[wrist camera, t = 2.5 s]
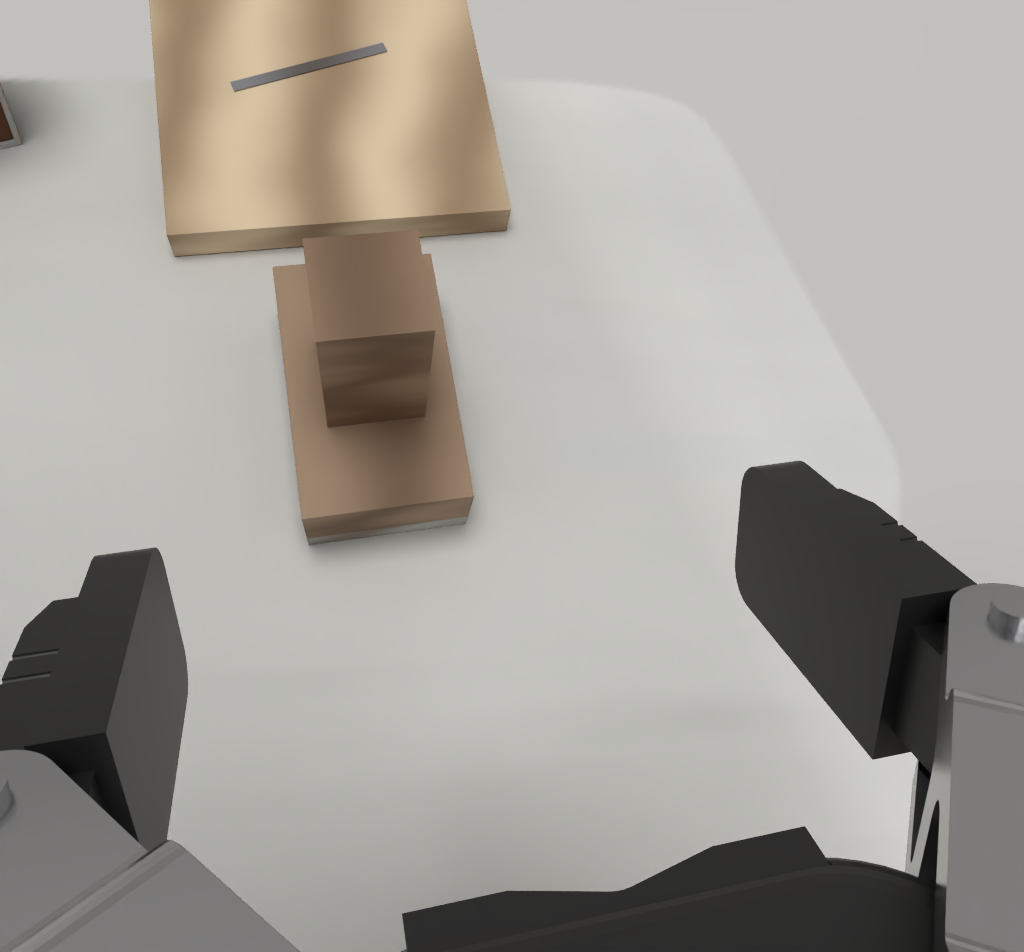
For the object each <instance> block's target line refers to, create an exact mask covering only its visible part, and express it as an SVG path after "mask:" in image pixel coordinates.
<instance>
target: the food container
mask: <svg viewBox="0 0 1024 952" xmlns="http://www.w3.org/2000/svg"><path fill="white" fill-rule="evenodd" d="M21 144H22V141H21V139H20V136H19V133H18V131H17V128H16V125H15V122H14V120H13V117H12V114H11V112H10V109H9V106H8V103H7V101H6V98H5V95H4V93H3V90H2V87H1V84H0V149H4V148H8V147H12V146H16V145H21Z"/></svg>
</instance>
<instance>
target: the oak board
mask: <svg viewBox="0 0 1024 952" xmlns="http://www.w3.org/2000/svg"><path fill="white" fill-rule="evenodd" d="M149 5H150V18H151V31H152V45H153V58H154V71H155V84H156V97H157V111H158V124H159V137H160V150H161V164H162V177H163V190H164V203H165V216H166V230H167V237H168V239H169V242H170V245H171V247H172V250H173V253H174V255H175V256H185V255H198V254H210V253H223V252H236V251H248V250H261V249H274V248H287V247H299V246H303V240H302V239H305V238H318V237H331V236H344V235H357V234H370V233H383V232H396V231H409V230H418V234H419V237H427V236H439V235H452V234H465V233H477V232H490V231H503V230H506V229H507V225H508V220H509V216H510V211H511V208H510V203H509V199H508V194H507V189H506V185H505V180H504V175H503V171H502V166H501V161H500V157H499V152H498V147H497V142H496V138H495V133H494V128H493V124H492V119H491V114H490V110H489V105H488V100H487V95H486V91H485V86H484V81H483V77H482V73H481V67H480V63H479V59H478V53H477V49H476V44H475V39H474V34H473V30H472V25H471V20H470V16H469V11H468V6H467V2H466V0H149Z"/></svg>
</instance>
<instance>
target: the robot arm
mask: <svg viewBox="0 0 1024 952" xmlns="http://www.w3.org/2000/svg"><path fill="white" fill-rule="evenodd" d="M897 522H898V521H896V520H895V519H894V518H893V517H891V516H890V515H889V514H887V513H886V512H885V511H884V510H882V509H881V508H880V507H879V506H877V505H876V504H875V503H873V502H871V501H868V500H866V499H864V498H861V497H859V496H857V495H854V494H852V493H850V492H847V491H845V490H843V489H837V488H835V487H834V486H833V485H832V484H830V483H829V482H828V481H827V480H826V479H824V478H823V477H822V476H821V475H819V474H818V473H817V472H816V471H815V470H813V469H812V468H811V467H810V466H808V465H807V464H806V463H804V462H802V461H793V462H786V463H779V464H772V465H764V466H757V467H751V468H749V469H748V470H747V471H746V472H745V474H744V477H743V480H742V486H741V498H740V510H739V522H738V534H737V546H736V558H735V572H736V579H737V583H738V587H739V590H740V593H741V595H742V598H743V600H744V602H745V603H746V605H747V606H748V607H749V609H750V610H751V611H752V612H753V613H754V615H755V616H756V617H757V618H758V620H759V621H760V622H761V623H762V625H763V626H764V627H765V628H766V629H767V631H768V632H769V633H770V634H771V636H772V637H773V638H774V639H775V640H776V642H777V643H778V644H779V645H780V647H781V648H782V649H783V650H784V651H785V653H786V654H787V655H788V656H789V658H790V659H791V660H792V661H793V663H794V664H795V665H796V666H797V667H798V669H799V670H800V671H801V672H802V674H803V675H804V676H805V677H806V678H807V680H808V681H809V682H810V683H811V685H812V686H813V687H814V688H815V690H816V691H817V692H818V693H819V694H820V696H821V697H822V698H823V699H824V701H825V702H826V703H827V704H828V705H829V707H830V708H831V709H832V710H833V712H834V713H835V714H836V715H837V716H838V718H839V719H840V720H841V721H842V723H843V724H844V725H845V726H846V728H847V729H848V730H849V731H850V732H851V734H852V735H853V736H854V737H855V739H856V740H857V741H858V742H859V743H860V745H861V746H862V747H863V748H864V750H865V751H866V752H867V753H868V755H869V756H870V757H871V758H872V759H878V758H883V757H888V756H892V755H897V754H902V753H907V752H912V753H913V754H914V755H915V757H916V758H917V764H916V769H915V773H914V778H913V784H912V796H911V807H910V819H909V830H908V842H907V853H906V865H905V872H902V871H899V870H896V869H893V868H889V867H886V866H882V865H877V864H873V863H868V862H863V861H857V860H849V859H841V858H825V856H824V855H823V853H822V852H821V850H820V848H819V847H818V845H817V844H816V842H815V841H814V839H813V838H812V836H811V835H810V833H809V832H808V830H807V829H806V827H805V826H804V827H800V828H795V829H790V830H786V831H781V832H777V833H772V834H767V835H763V836H758V837H754V838H749V839H744V840H740V841H735V842H730V843H726V844H721V845H717V846H712V847H710V848H708V849H706V850H704V851H702V852H700V853H698V854H696V855H694V856H692V857H690V858H688V859H686V860H684V861H682V862H680V863H678V864H676V865H674V866H672V867H670V868H668V869H666V870H664V871H662V872H660V873H658V874H656V875H654V876H652V877H650V878H648V879H646V880H644V881H642V882H640V883H638V884H636V885H634V886H632V887H630V888H627V889H625V890H620V891H613V892H583V891H505V892H500V893H495V894H491V895H486V896H482V897H477V898H472V899H468V900H463V901H458V902H454V903H449V904H445V905H440V906H435V907H431V908H426V909H422V910H417V911H412V912H408V913H403V914H402V916H403V924H404V932H405V939H406V947H407V949H405V950H403V951H401V952H1024V587H1020V586H1015V585H1008V584H997V583H987V584H976V583H975V582H973V581H972V580H971V579H970V578H968V577H967V576H966V575H965V574H963V573H962V572H961V571H960V570H958V569H957V568H956V567H955V566H953V565H952V564H951V563H949V562H948V561H947V560H946V559H944V558H943V557H942V556H941V555H939V554H938V553H937V552H936V551H934V550H933V549H932V548H931V547H929V546H928V545H927V544H925V543H924V542H923V541H917V536H915V535H914V534H913V533H912V532H910V531H909V530H908V529H906V528H905V527H904V526H903V525H900V526H898V523H897ZM12 657H13V661H10V662H9V664H8V666H7V668H6V671H5V673H4V675H3V678H2V685H0V952H300V951H299V950H297V949H296V948H295V947H294V946H293V945H292V944H291V943H290V942H289V941H287V940H286V939H285V938H284V937H283V936H282V935H281V934H280V933H279V932H277V931H276V930H275V929H274V928H273V927H272V926H271V925H270V924H269V923H267V922H266V921H265V920H264V919H263V918H262V917H261V916H260V915H259V914H257V913H256V912H255V911H254V910H253V909H252V908H251V907H250V906H249V905H247V904H246V903H245V902H244V901H243V900H242V899H241V898H240V897H239V896H237V895H236V894H235V893H234V892H233V891H232V890H231V889H230V888H229V887H227V886H226V885H225V884H224V883H223V882H222V881H221V880H220V879H219V878H217V877H216V876H215V875H214V874H213V873H212V872H211V871H210V870H209V869H207V868H206V867H205V866H204V865H203V864H202V863H201V862H200V861H199V860H197V859H196V858H195V857H194V856H193V855H192V854H191V853H190V852H189V851H187V850H186V849H185V848H184V847H183V846H181V845H180V844H178V843H176V842H174V841H172V840H167V833H168V826H169V820H170V813H171V806H172V799H173V792H174V785H175V778H176V771H177V765H178V758H179V751H180V744H181V737H182V730H183V723H184V716H185V710H186V703H187V695H188V674H187V663H186V656H185V650H184V645H183V641H182V637H181V633H180V629H179V624H178V620H177V616H176V612H175V608H174V603H173V599H172V595H171V591H170V587H169V583H168V578H167V574H166V570H165V566H164V562H163V559H162V556H161V554H160V552H159V550H158V549H157V548H149V549H142V550H135V551H127V552H120V553H113V554H105V555H98V556H94V558H93V559H92V561H91V564H90V567H89V569H88V572H87V575H86V577H85V580H84V583H83V586H82V588H81V591H80V594H79V597H76V598H69V599H62V600H55V601H52V602H51V603H50V604H49V605H48V606H47V607H46V608H45V609H44V610H43V611H42V612H41V613H40V614H38V615H37V616H36V617H35V618H34V619H33V620H32V621H31V622H30V623H29V624H28V625H27V626H26V627H25V628H24V630H23V632H22V634H21V637H20V639H19V641H18V643H17V646H16V648H15V650H14V653H13V655H12Z"/></svg>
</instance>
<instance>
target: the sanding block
mask: <svg viewBox="0 0 1024 952" xmlns="http://www.w3.org/2000/svg"><path fill="white" fill-rule="evenodd" d="M302 240H303V247H304V255H305V263H306V264H302V265H289V266H277V267H273V275H274V283H275V292H276V300H277V309H278V318H279V326H280V335H281V344H282V352H283V361H284V369H285V378H286V387H287V395H288V404H289V412H290V421H291V430H292V438H293V447H294V456H295V464H296V473H297V481H298V490H299V499H300V507H301V516H302V521H303V525H304V529H305V532H306V536H307V540H308V543H309V545H313V544H321V543H328V542H335V541H342V540H349V539H357V538H364V537H371V536H378V535H385V534H393V533H400V532H407V531H414V530H421V529H429V528H436V527H443V526H450V525H457V524H464V523H466V520H467V517H468V514H469V510H470V507H471V504H472V501H473V498H474V494H473V488H472V483H471V477H470V472H469V466H468V460H467V455H466V449H465V443H464V438H463V432H462V427H461V421H460V415H459V410H458V404H457V399H456V393H455V387H454V382H453V376H452V371H451V365H450V359H449V354H448V348H447V343H446V337H445V331H444V326H443V320H442V315H441V309H440V303H439V298H438V292H437V287H436V281H435V275H434V270H433V264H432V258H431V254H423V255H422V251H421V245H420V240H419V234H418V230H409V231H396V232H383V233H370V234H357V235H344V236H331V237H318V238H305V239H302Z"/></svg>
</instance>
